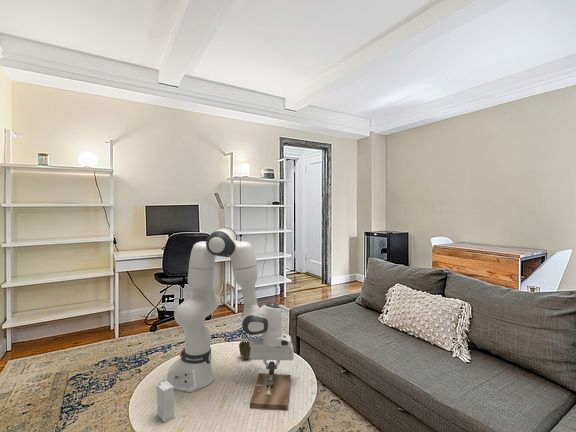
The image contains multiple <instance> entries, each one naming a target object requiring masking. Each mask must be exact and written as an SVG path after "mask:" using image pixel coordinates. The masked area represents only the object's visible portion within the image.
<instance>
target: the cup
mask: <svg viewBox="0 0 576 432" xmlns="http://www.w3.org/2000/svg"><path fill="white" fill-rule="evenodd" d="M249 342H250V340H241V341H240V342H239V344H238V346H239V347H238V348H239V354H240V355H241V357H242V359H243V360H245V361H246V360H249V359H250V349H251V348H250V346H249Z"/></svg>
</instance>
